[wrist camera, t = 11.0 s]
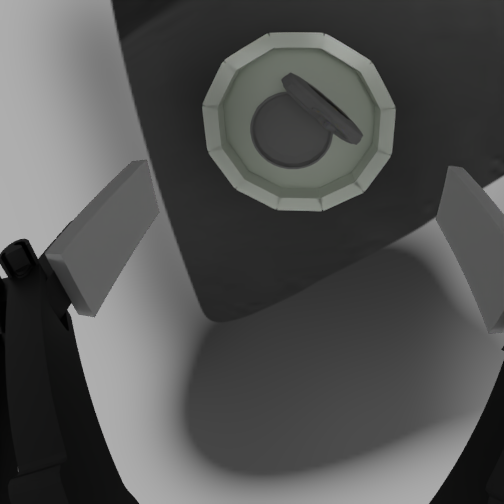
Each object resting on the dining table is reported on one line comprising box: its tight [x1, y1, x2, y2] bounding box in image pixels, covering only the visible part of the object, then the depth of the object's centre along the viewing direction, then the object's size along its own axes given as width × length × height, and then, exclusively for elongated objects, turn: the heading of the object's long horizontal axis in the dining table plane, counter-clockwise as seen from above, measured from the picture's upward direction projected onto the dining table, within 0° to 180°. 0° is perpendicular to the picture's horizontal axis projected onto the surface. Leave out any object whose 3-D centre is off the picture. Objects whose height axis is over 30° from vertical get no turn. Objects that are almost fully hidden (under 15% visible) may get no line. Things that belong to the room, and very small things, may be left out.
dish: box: [202, 32, 396, 211], centre depth 24 cm, size 15×15×3 cm
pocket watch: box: [250, 72, 363, 169], centre depth 20 cm, size 8×8×10 cm
